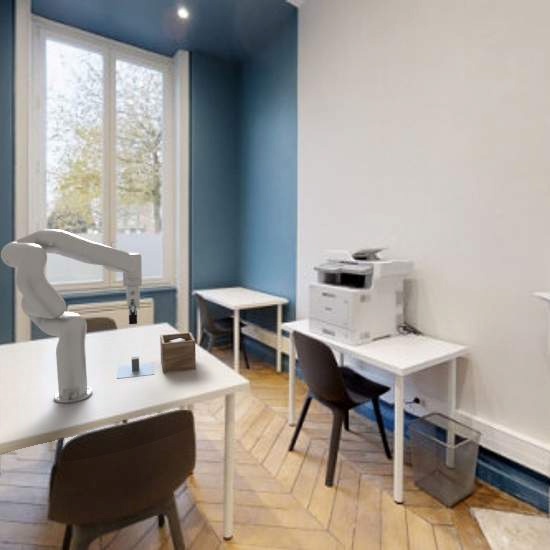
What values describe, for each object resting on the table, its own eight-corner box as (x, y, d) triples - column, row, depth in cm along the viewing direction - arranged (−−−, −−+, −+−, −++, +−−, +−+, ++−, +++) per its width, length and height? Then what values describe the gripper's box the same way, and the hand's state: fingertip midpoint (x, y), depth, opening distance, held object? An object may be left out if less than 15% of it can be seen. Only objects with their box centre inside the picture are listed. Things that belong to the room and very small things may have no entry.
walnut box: (195, 369, 173) (195, 340, 172) (163, 372, 169) (162, 343, 167) (191, 358, 187) (190, 332, 185) (160, 362, 182) (160, 335, 180)
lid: (154, 375, 167) (154, 361, 166) (116, 380, 162) (116, 365, 161) (152, 364, 181) (152, 350, 180) (118, 367, 176) (117, 354, 175)
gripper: (142, 284, 160) (142, 325, 161) (141, 279, 176) (141, 316, 178) (122, 284, 157) (123, 326, 159) (123, 279, 173) (124, 317, 175)
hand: (133, 321), depth 168 cm, fingers open, 9 cm apart
